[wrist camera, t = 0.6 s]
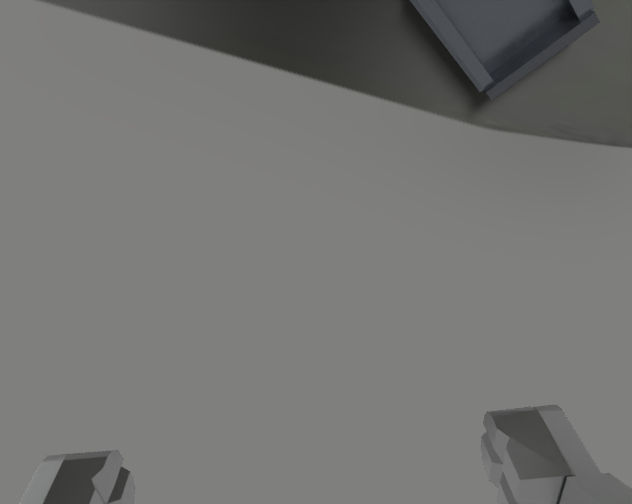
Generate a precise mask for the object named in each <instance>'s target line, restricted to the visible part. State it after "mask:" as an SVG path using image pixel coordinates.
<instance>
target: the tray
mask: <svg viewBox="0 0 632 504" xmlns="http://www.w3.org/2000/svg"><path fill="white" fill-rule="evenodd" d="M410 1H411V3H412V4H413V5H414V7H415V8H416V9H417V11H418V12H419V13H420V15H421V16H422V17H423V18H424V20H425V21H426V22H427V24H428V25H429V26H430V28H431V29H432V30H433V32H434V33H435V34H436V35H437V37H438V38H439V39H440V41H441V42H442V43H443V45H444V46H445V47H446V49H447V50H448V51H449V52H450V54H451V55H452V56H453V58H454V59H455V60H456V62H457V63H458V64H459V66H460V67H461V68H462V69H463V71H464V72H465V73H466V75H467V76H468V77H469V79H470V80H471V81H472V83H473V84H474V85H475V86H476V88H477V89H478V90H479V92H481V91H483V90H484V91H485V92H486V94H487V95H488V96H489V98H490V99H491V100H493V99H494V98H495V97H497V96H498V95H500V94H501V93H502V92H504V91H505V90H507V89H508V88H509V87H511V86H512V85H514V84H515V83H516V82H518V81H519V80H520V79H522V78H523V77H525V76H526V75H527V74H529V73H530V72H532V71H533V70H534V69H536V68H537V67H539V66H540V65H541V64H543V63H544V62H545V61H547V60H548V59H550V58H551V57H552V56H554V55H555V54H557V53H558V52H559V51H561V50H562V49H563V48H565V47H566V46H568V45H569V44H570V43H572V42H573V41H575V40H576V39H577V38H579V37H580V36H582V35H583V34H584V33H586V32H587V31H588V30H590V29H591V28H593V27H594V26H595V25H597V24H598V23H600V22H599V20H598V18H597V16H596V14H595V12H594V11H593V10H592V9H594V8H595V7H594V5H593V3H592V1H591V0H410Z"/></svg>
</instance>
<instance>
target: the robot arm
mask: <svg viewBox="0 0 632 504" xmlns="http://www.w3.org/2000/svg"><path fill="white" fill-rule="evenodd" d="M483 423H484V426H485V428H486V431H487V432H486V433H484V434H483V435H482V437H481V452H482V459H483V463H484V466H485V470H486V473H487V475H488V478H489V481H490V482H492V483H493V484H494V485H495V486H497V487H498V488H499V492H498V498H497V502H498V504H632V489H631V488H630V487H628V486H627V485H626V484H624V483H623V482H621V481H620V480H618V479H617V478H616V477H614V476H613V475H611V474H610V473H601V472H600V470H599V468H598V467H597V465H596V463H595V462H594V460H593V459H592V457H591V455H590V454H589V452H588V451H587V449H586V447H585V446H584V444H583V442H582V441H581V439H580V438H579V436H578V434H577V433H576V431H575V430H574V428H573V426H572V425H571V423H570V422H569V420H568V418H567V417H566V415H565V413H564V412H563V410H562V409H561V408H560V407H559V406H558V405H547V406H539V407H523V408H516V409H506V410H498V411H489V412H486V414H485V415H484V421H483ZM122 462H123V457H122V456H121V454H120V452H119V451H118V450H112V451H99V452H87V453H74V454H61V455H51V456H47V457H46V458H45V459H44V460H43V461H42V462H41V463H40V464H39V466H38V468H37V470H36V472H35V474H34V476H33V478H32V480H31V482H30V483H29V485H28V487H27V489H26V491H25V493H24V495H23V497H22V499H21V501H20V503H19V504H134V494H135V485H134V480H133V477H132V475H131V473H130V471H128V470H126V469H124V468H123V467H121V465H122Z"/></svg>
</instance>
